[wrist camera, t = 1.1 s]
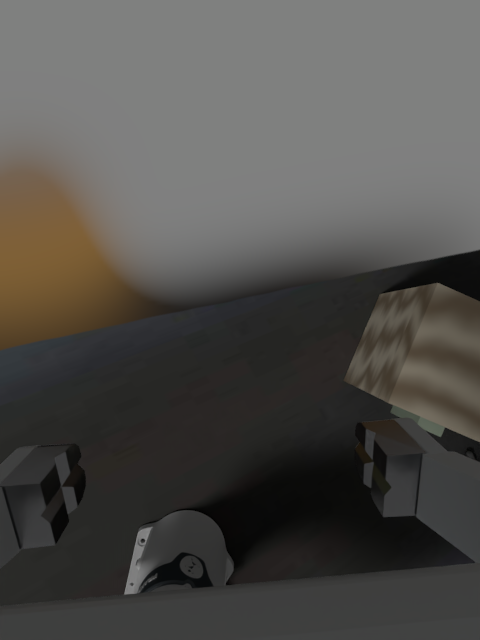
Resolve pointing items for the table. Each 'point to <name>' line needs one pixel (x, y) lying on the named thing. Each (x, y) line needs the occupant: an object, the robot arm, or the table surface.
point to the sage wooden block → (419, 421)
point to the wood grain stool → (424, 356)
